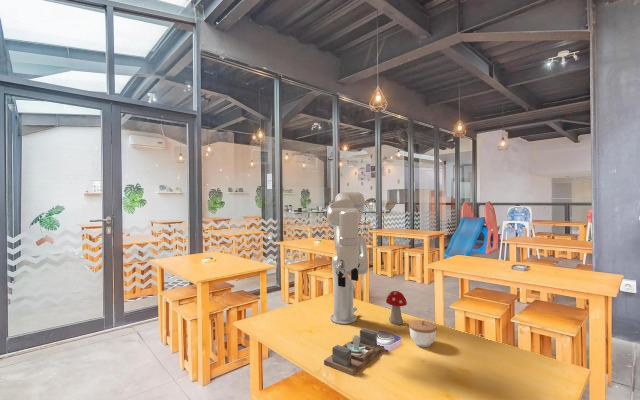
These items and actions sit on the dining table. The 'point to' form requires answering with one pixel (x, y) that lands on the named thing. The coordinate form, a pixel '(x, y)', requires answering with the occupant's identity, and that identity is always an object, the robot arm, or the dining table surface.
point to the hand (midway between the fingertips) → (348, 283)
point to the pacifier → (355, 346)
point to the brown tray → (351, 362)
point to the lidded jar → (422, 332)
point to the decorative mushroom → (396, 306)
